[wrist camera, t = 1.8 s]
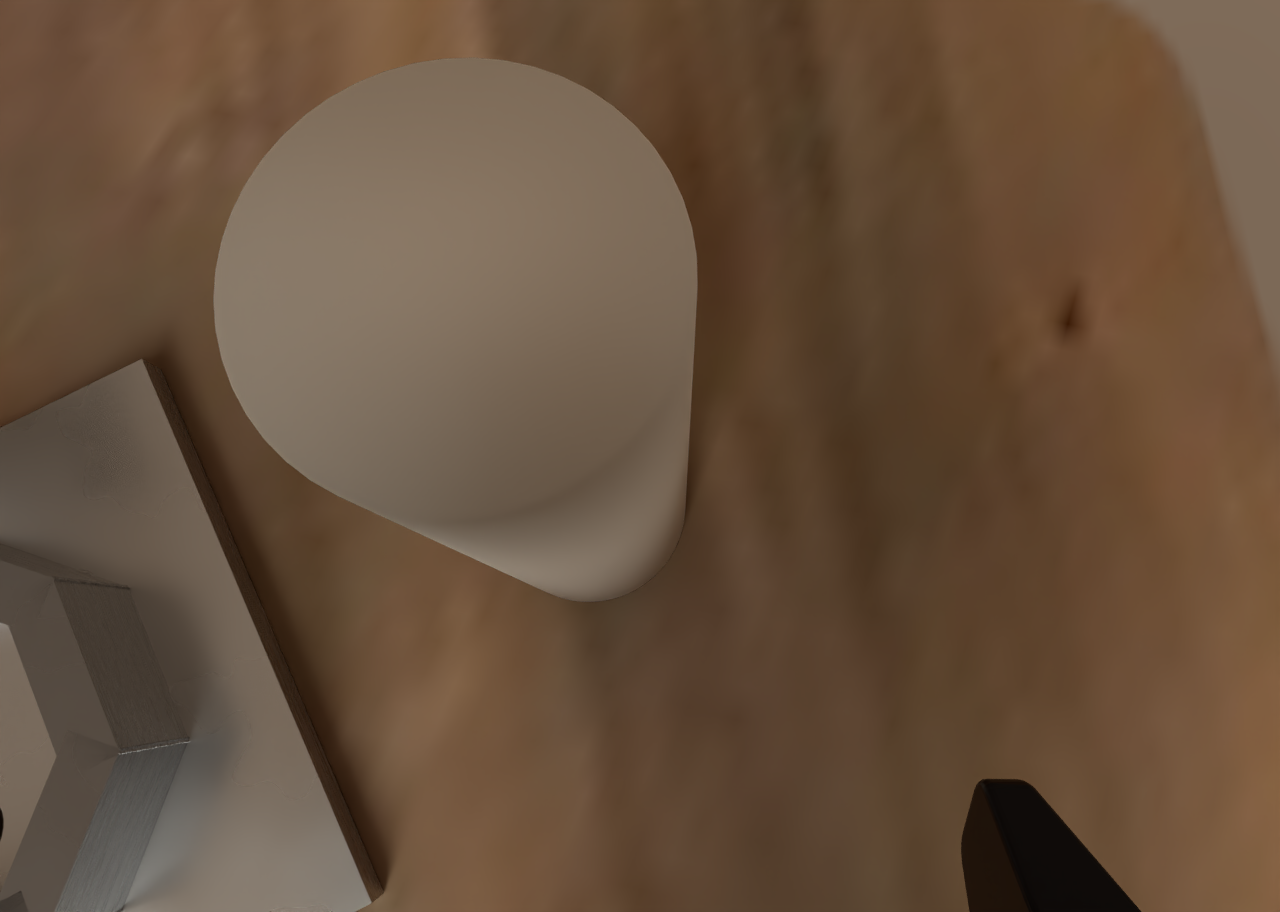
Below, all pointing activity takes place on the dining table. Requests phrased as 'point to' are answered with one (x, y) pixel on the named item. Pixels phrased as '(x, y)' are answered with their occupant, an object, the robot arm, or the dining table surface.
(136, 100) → the dining table surface
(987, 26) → the dining table surface
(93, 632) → the square plate with nut
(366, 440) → the beige cylinder
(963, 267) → the dining table surface
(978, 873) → the robot arm
